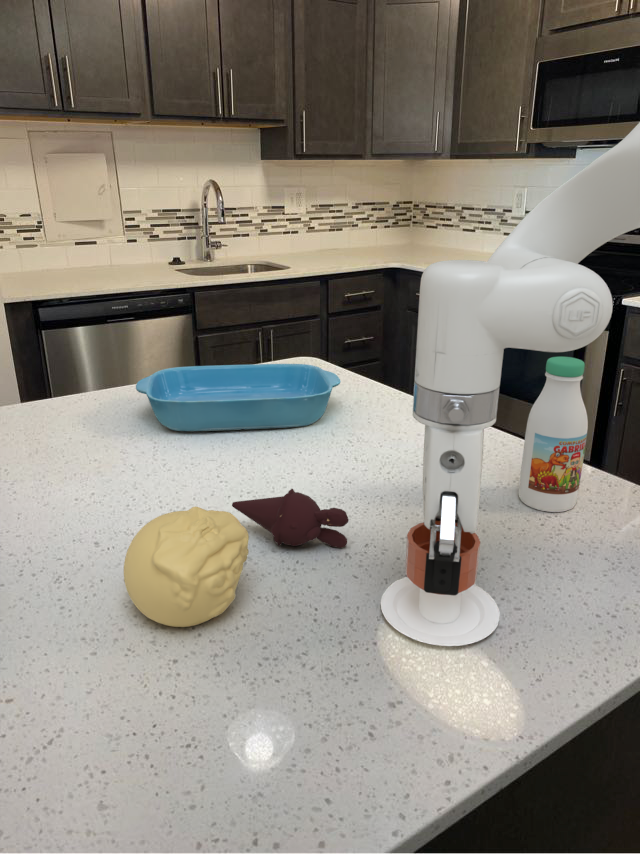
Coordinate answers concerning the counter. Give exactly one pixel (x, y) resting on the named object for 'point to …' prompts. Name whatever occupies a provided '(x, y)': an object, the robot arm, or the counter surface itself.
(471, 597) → the candle holder
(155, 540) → the sculpture
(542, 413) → the milk bottle
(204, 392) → the casserole dish
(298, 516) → the icecream
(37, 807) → the counter surface
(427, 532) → the bowl
